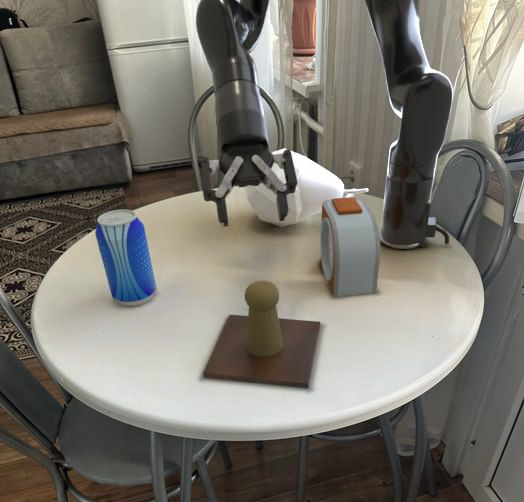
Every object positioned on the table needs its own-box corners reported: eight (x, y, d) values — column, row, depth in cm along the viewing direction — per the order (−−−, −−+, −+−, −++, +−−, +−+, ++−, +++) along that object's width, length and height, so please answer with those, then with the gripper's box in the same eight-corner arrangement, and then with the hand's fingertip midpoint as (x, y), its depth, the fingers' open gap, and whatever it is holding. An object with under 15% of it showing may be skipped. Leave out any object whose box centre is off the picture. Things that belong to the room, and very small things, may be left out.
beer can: (116, 286, 99) (96, 209, 89) (159, 283, 100) (143, 205, 90) (109, 310, 93) (87, 228, 83) (155, 306, 93) (138, 225, 83)
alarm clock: (317, 259, 105) (319, 196, 96) (357, 256, 105) (362, 192, 97) (331, 296, 93) (334, 228, 85) (376, 292, 93) (384, 224, 85)
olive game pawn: (279, 358, 78) (277, 297, 71) (241, 354, 79) (236, 294, 72) (286, 335, 82) (285, 276, 76) (250, 332, 83) (246, 274, 77)
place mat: (320, 326, 86) (320, 321, 85) (308, 388, 73) (308, 383, 73) (229, 319, 89) (229, 314, 88) (203, 377, 76) (202, 372, 76)
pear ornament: (240, 136, 108) (373, 140, 102) (262, 170, 130) (371, 174, 124) (233, 213, 109) (364, 221, 103) (255, 234, 131) (364, 241, 125)
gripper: (193, 111, 73) (205, 216, 71) (289, 103, 74) (304, 207, 72) (196, 139, 80) (208, 235, 78) (284, 131, 82) (297, 226, 80)
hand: (254, 221), depth 75 cm, fingers open, 8 cm apart
